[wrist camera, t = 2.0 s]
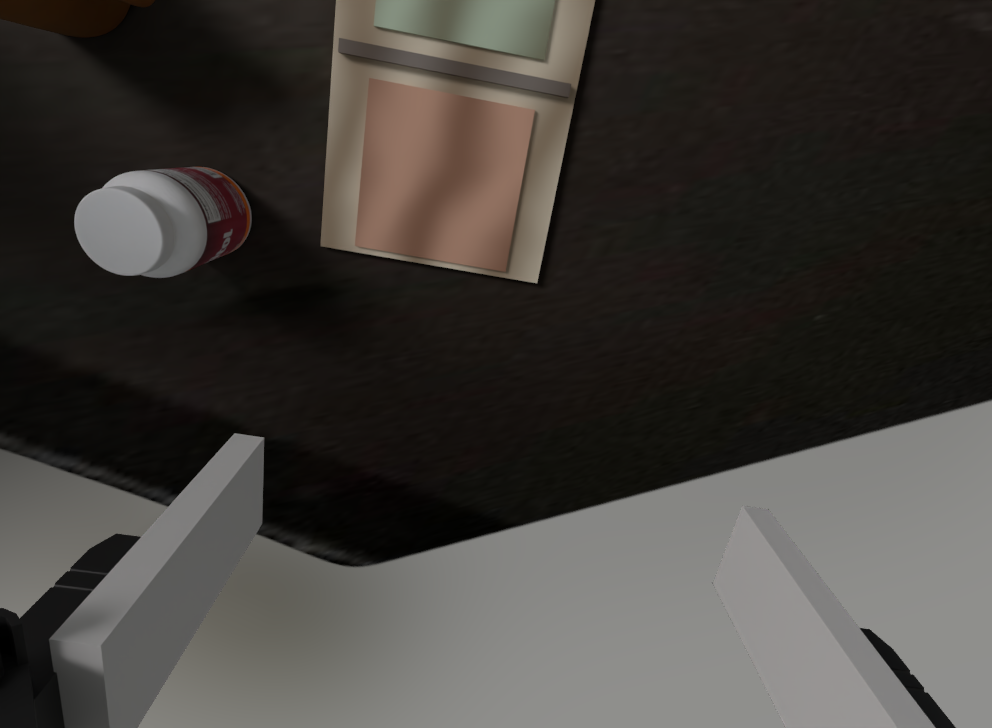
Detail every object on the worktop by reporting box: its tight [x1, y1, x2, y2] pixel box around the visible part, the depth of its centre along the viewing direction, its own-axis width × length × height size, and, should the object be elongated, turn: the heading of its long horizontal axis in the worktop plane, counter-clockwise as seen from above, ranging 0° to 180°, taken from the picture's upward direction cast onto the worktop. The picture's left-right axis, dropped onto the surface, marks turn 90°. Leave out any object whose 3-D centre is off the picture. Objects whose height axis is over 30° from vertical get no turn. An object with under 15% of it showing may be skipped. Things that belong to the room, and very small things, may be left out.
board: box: [321, 0, 595, 283], centre depth 37 cm, size 16×26×1 cm, turn 170°
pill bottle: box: [74, 167, 252, 278], centre depth 35 cm, size 6×6×11 cm
